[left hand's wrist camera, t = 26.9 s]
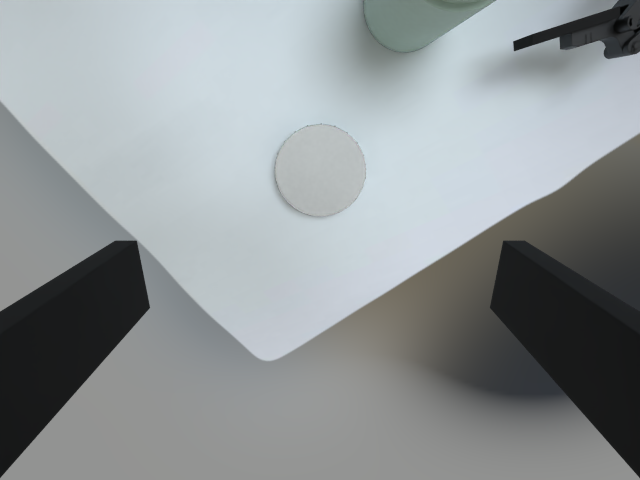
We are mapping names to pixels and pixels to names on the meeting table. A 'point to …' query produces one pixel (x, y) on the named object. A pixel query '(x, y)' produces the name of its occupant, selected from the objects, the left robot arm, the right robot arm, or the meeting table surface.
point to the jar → (416, 20)
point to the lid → (320, 170)
